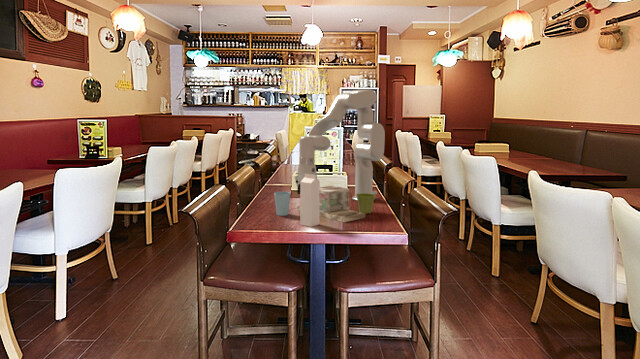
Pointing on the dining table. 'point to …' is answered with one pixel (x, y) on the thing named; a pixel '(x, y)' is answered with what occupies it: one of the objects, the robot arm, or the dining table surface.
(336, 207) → the slider
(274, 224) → the dining table surface
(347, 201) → the tunnel
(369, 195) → the plant pot
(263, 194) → the dining table surface
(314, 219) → the milk
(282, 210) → the cup
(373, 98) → the robot arm
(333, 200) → the block
